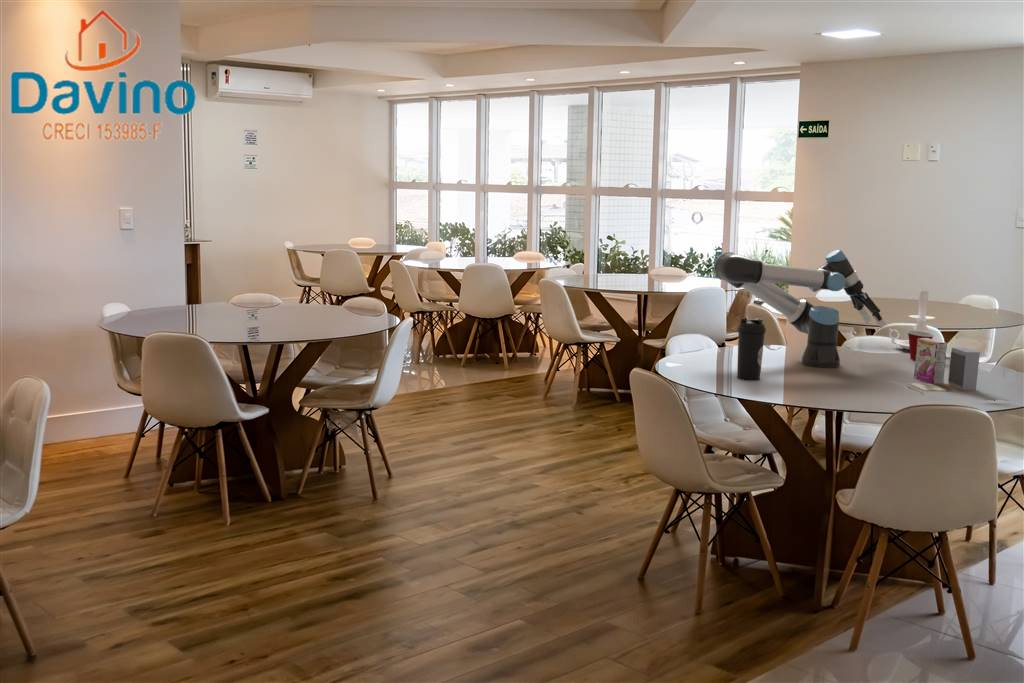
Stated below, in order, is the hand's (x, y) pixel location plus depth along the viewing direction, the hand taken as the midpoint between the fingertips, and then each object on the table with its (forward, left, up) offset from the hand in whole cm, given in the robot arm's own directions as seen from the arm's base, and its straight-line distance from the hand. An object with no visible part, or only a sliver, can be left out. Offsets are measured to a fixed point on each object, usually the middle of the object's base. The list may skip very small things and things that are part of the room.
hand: (876, 323), depth 424 cm
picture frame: (-3, -63, -15) cm, 65 cm away
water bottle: (-70, -44, -16) cm, 84 cm away
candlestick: (+31, +25, -16) cm, 43 cm away
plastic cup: (+20, 0, -16) cm, 25 cm away
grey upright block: (+4, -63, -14) cm, 65 cm away
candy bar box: (-2, -50, -16) cm, 53 cm away
